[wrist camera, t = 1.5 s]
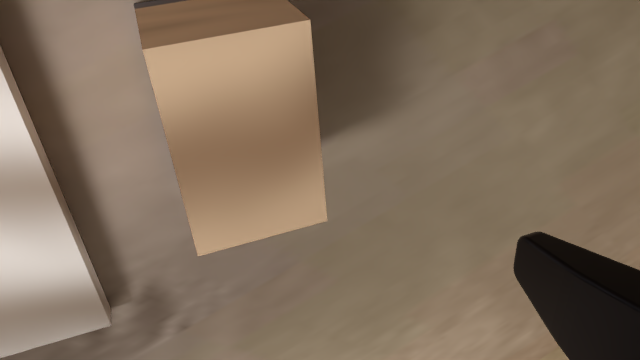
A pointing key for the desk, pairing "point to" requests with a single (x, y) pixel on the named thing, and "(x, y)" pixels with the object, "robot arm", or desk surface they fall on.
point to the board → (38, 242)
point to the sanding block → (237, 115)
